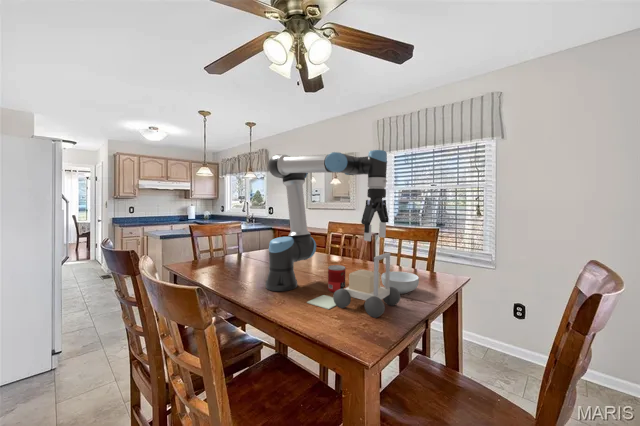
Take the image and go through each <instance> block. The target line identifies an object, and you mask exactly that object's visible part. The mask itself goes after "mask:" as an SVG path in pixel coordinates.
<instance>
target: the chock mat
mask: <svg viewBox="0 0 640 426" xmlns="http://www.w3.org/2000/svg"><path fill="white" fill-rule="evenodd" d="M306 303H307V304H309V305H312V306H316V307H320V308H322V309H325V310H330V309H332V308H335V307H338V306H337V305H336V304H335V302H334V300H333V296H330V295H327V294H326V295H325V294H322V295H320V296H317V297H315V298H313V299H311V300H308V301H306Z"/></svg>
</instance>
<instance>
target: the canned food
mask: <svg viewBox="0 0 640 426" xmlns="http://www.w3.org/2000/svg"><path fill="white" fill-rule="evenodd" d="M344 288H346V267H345V266H344V265H340V264H332V265H329V266H328V268H327V290H328V291H329V292H330V293H333V294H334V292H335V291H336V290H339V289H344Z"/></svg>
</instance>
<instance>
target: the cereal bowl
mask: <svg viewBox="0 0 640 426" xmlns="http://www.w3.org/2000/svg"><path fill="white" fill-rule="evenodd" d="M380 280H381V283H382V285H383V287H385V282H386V272H383V273H382V274H381V275H380ZM419 281H420V277H419V276H418V275H417V274H415V273H412V272H406V271H398V270H397V271H393V270H392V271H390V287H394V288H396V289H397V290H398V291H399V293H400V295H402V294H408V293H409V292H412V291H414V290H416V289H417V288H418V286H419V285H420V284H419V283H420V282H419Z"/></svg>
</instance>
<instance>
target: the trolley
mask: <svg viewBox="0 0 640 426" xmlns="http://www.w3.org/2000/svg"><path fill="white" fill-rule="evenodd" d="M391 256H392V255H391V252H385V253H382V254H380V255H377V256H374V257H373V270H367V269H362V268H361V269H358V270H355V271H352V272H350V273H349V274H348V286H346V287H345V288H344V289H339V290H336V291H335V292H334V293H333V295H332V297H333V300H334V302H335V304H336V305H337V306H336V307H338V308H340V309H344V308H346V307H349V305H350V304H351V301H352V298H355V299H359V300H363V301H365V302H364V310H365V312H366V313H367V315H369V317H372V318H374V319H375V318H379V317H380V316H382V315H383V314H384V313H385V310H386V307H385V304H386V305H388V306H390V307H391V306H396V305H397V304H399V302H400V301H401V293H399V291H398V290H397V289H396V288H394V287H390V272H391ZM383 259H385V273H386V282H385V286H381V272H379V267H380V265H379V261H381V260H383Z"/></svg>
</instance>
